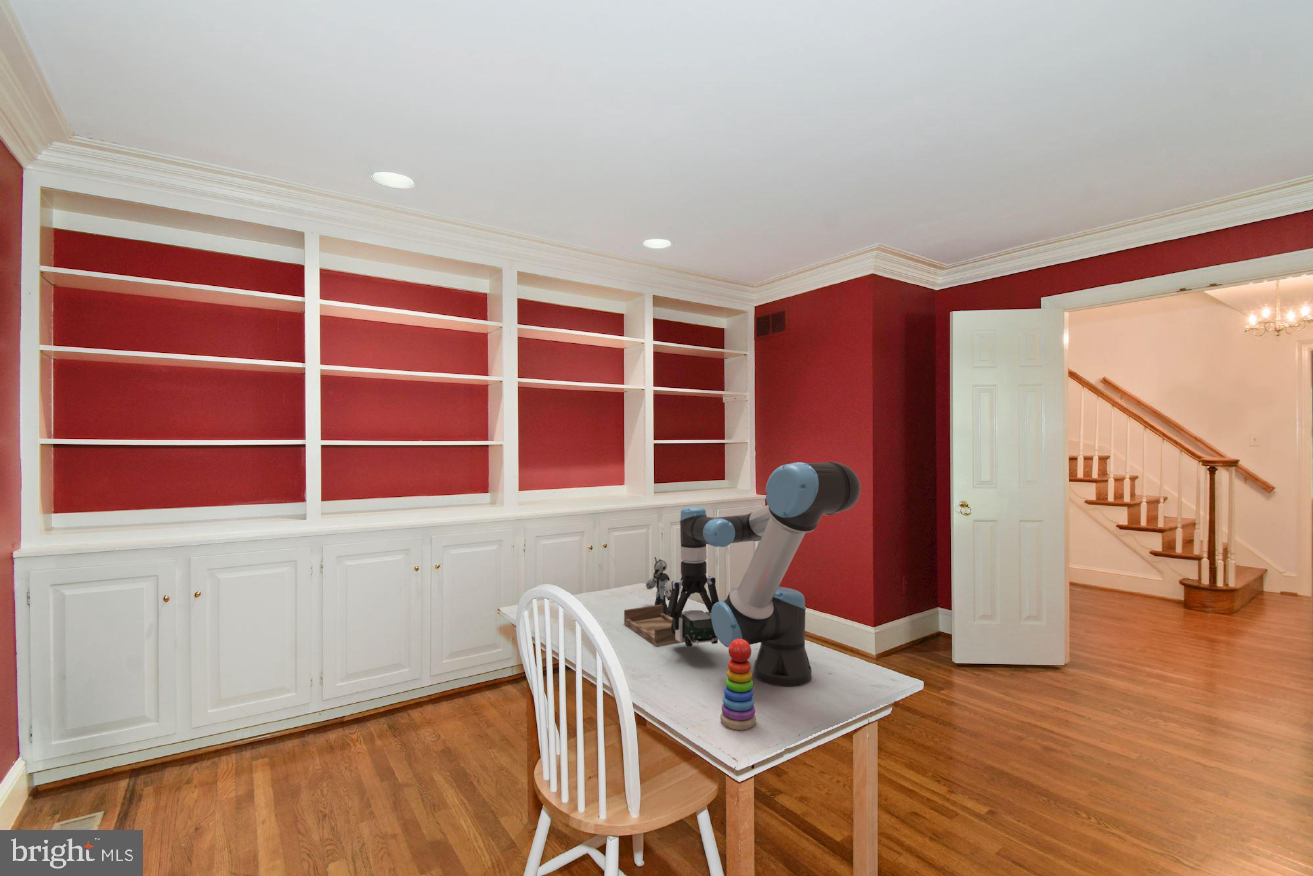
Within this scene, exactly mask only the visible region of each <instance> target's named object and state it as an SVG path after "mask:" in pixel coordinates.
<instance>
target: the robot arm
mask: <svg viewBox="0 0 1313 876" xmlns="http://www.w3.org/2000/svg"><path fill="white" fill-rule="evenodd" d="M861 489H862V486H861V481H860V479H859V477H858V475H857V473H856V472H855V471H854V469H852V468H851V467H849V466H848V465H846V464H843V463H840V462H836V461H829V462H810V463H809V462H807V463H806V462H802V461H800V462H792V463H788V464H783V465H780V466H778V467H777V468H776V469H775V470H773V471H772V473H771V474H770V475H769V477H768V480H767V482H766V485H765V492H766V493H767V494H766V495H765V500H766V501H765V502H766V504H767V505H764V506H762V507H760V508H757V509H756V510H754V511H752V512H750V513H748V514H743V515H732V516H719V517H714V516H713V517H712V516H707V510H706V509H705V508H704V507H700V506H699V507H698V506H690V507H689V506H687V507H683V508H681V510H680V519H679V527H680V529H679V530H680V533H679V534H680V560H681V562H680V575H681V577H680V580H677V581H675V580H672V581H671V582H670V583H671V585H670V586H671V587H672V591H671V596H670V600H669V601H668V605H667V607H668V609H667V616H669V617H671V618H673V628H674V629H675V639H676V640H677V641H679V643H683V642H682V618H680V616H681V613H682V612H684V611H683V610H684V609H685V606H686V604H687V601H688V600H689V598H690V596H691V595H692V594H695V593H696V594H699V595H700V597H701V600H702V601H703V604H704V605H705V607H706V609H707V611H704V612H705V613H706V614H708V615H709V616H710V617H711V621H712V625H713V629H714V632H715V634H716V636H717V638H718V642H719V643H721V644H722V645H723V646H724V647H725V648H729V645H730V643H731V642H732V641H733V640H735V639H743V640H745V641H747V642H748V643H749V645H750V646H751V645H756V644H759V643H760V646H759V649H758V652H757V655H756V659H755V661H754V665H753V675H754V677H756V678H757V679H758V680H760V681H762V682H764V683H767V684H768V685H769V684H770V685H775V686H781V687H798V686H802V685H805V684H808V683H809V682H810V681H811V680H812V673H813V671H812V667H811V662H810V660H809V657H808V654H807V653H808V652H807V650H806V610H807V608H806V602H805V601H806V599H805V595H804V594H803V593H802V592H800V591H799V590H796V589H793V588H790V587H783V586H780V585H781V584H782V581H783V578H784V577H785V574H786V573H787V572H788V569H789V566H791V565H790V564H791V563H792V561H793V559H794V556H795V554H796V552H797V551H798V549H799V548H800V547H799V546H800V544H801V543H802V541H803V539H804V537H805V535H806V533H811V532H814V530H816V528H817V526H818V524H819V523H820V520H821V518H822V516H823V515H824V516H832V515H835V514H837V513H842V512H845V511H848V510H849V509H852V508H853V507H854V506H855V505H856V504H857V502H858V501H859V498H860V496H861V492H862V491H861ZM744 542H745V543H746V542H758V543H757V546H756V548H755V550H754V552H753V554H752V557H751V560H750V561H749V563H748V566H747V568H746V570H745V573H744V574H743V577H742V580H741V581H740V583H737V584H735V585H734V586H732V588H731V589H730V590H729V592H728V595H727V597H726V599H724V600H719V596H718V591H717V586H716V577H713V576H707V565H708V564H707V562H706V560H707V558H708V557H707V545H709V546H712V547H714V548H715V547H717V548H718V547H719V548H725V547H728V546H729V545H730V544H736V543H744ZM706 585H707V588H708V591H707V589H706V587H705V586H706ZM681 587H682V588H681ZM680 589H681V591H680ZM708 593H709V595H708ZM679 594H680V595H679Z"/></svg>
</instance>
